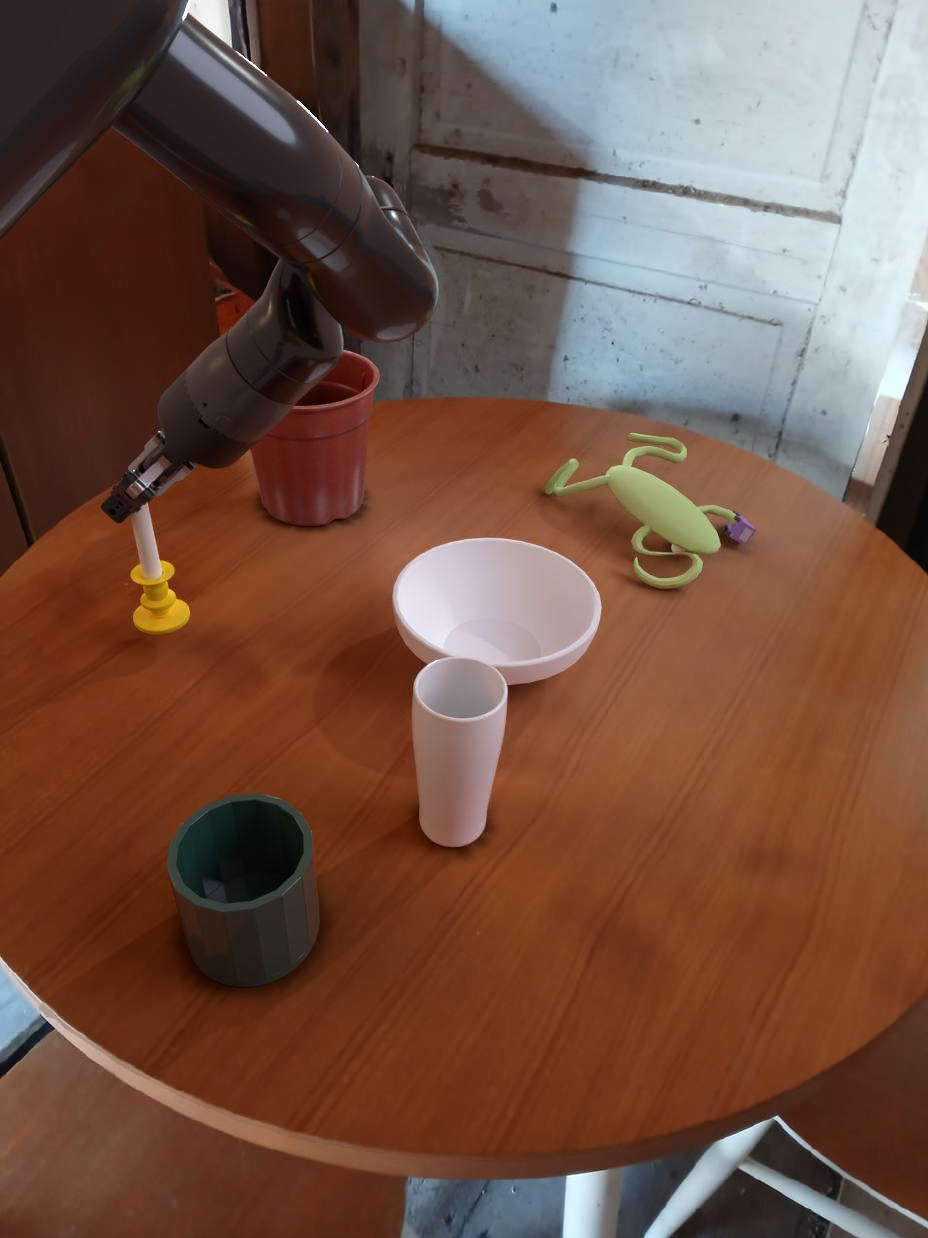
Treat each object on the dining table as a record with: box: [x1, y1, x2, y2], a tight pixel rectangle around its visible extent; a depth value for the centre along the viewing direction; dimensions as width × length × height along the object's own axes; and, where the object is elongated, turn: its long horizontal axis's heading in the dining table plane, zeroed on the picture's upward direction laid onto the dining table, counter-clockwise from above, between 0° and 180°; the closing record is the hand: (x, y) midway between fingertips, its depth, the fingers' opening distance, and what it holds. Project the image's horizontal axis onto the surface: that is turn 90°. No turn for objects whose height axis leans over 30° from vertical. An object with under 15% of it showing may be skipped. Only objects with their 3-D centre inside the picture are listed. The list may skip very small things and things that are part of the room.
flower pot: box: [250, 349, 381, 527], centre depth 104 cm, size 16×16×16 cm
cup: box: [165, 792, 321, 988], centre depth 62 cm, size 9×9×9 cm
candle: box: [129, 503, 191, 636], centre depth 82 cm, size 5×5×16 cm
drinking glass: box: [411, 657, 509, 848], centre depth 68 cm, size 7×7×15 cm
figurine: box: [544, 432, 758, 590], centre depth 107 cm, size 18×27×6 cm
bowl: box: [391, 537, 602, 686], centre depth 86 cm, size 20×20×7 cm
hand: (117, 507), depth 79 cm, fingers closed on candle
